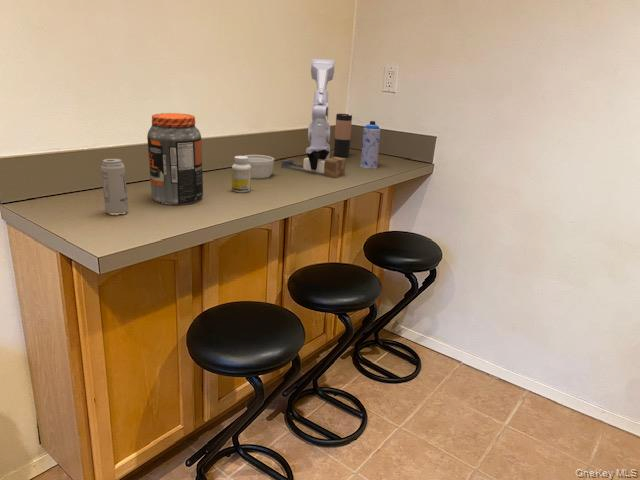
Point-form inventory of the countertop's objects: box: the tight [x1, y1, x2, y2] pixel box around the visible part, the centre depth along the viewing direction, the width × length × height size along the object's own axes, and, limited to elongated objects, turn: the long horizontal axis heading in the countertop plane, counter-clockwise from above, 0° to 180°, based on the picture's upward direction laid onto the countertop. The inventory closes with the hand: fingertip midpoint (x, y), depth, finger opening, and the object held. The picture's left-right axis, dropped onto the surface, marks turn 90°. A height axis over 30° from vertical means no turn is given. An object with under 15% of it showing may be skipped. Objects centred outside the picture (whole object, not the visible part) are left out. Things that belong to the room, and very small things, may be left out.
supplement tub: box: [146, 112, 204, 205], centre depth 149 cm, size 16×16×26 cm
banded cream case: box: [302, 157, 325, 173], centre depth 199 cm, size 5×14×5 cm, turn 57°
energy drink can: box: [100, 158, 129, 213], centre depth 134 cm, size 6×6×15 cm
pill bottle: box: [231, 155, 252, 193], centre depth 165 cm, size 6×6×12 cm
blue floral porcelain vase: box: [359, 120, 381, 170], centre depth 214 cm, size 8×8×20 cm
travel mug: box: [333, 113, 353, 159], centre depth 233 cm, size 8×8×20 cm
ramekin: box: [244, 154, 275, 180], centre depth 188 cm, size 13×13×7 cm
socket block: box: [323, 156, 347, 179], centre depth 195 cm, size 8×5×7 cm, turn 147°
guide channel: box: [280, 158, 325, 177], centre depth 203 cm, size 8×22×2 cm, turn 57°
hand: (317, 168), depth 200 cm, fingers closed on banded cream case, 4 cm apart
